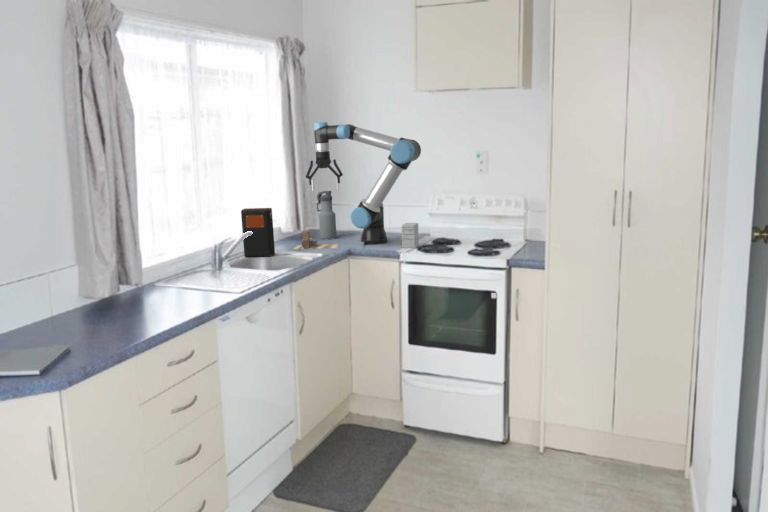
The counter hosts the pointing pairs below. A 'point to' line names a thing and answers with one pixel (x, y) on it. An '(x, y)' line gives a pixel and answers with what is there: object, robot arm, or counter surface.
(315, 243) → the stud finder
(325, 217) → the water bottle
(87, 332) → the counter surface
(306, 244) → the peg
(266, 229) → the voltmeter
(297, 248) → the plywood panel
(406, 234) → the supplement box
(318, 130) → the robot arm
